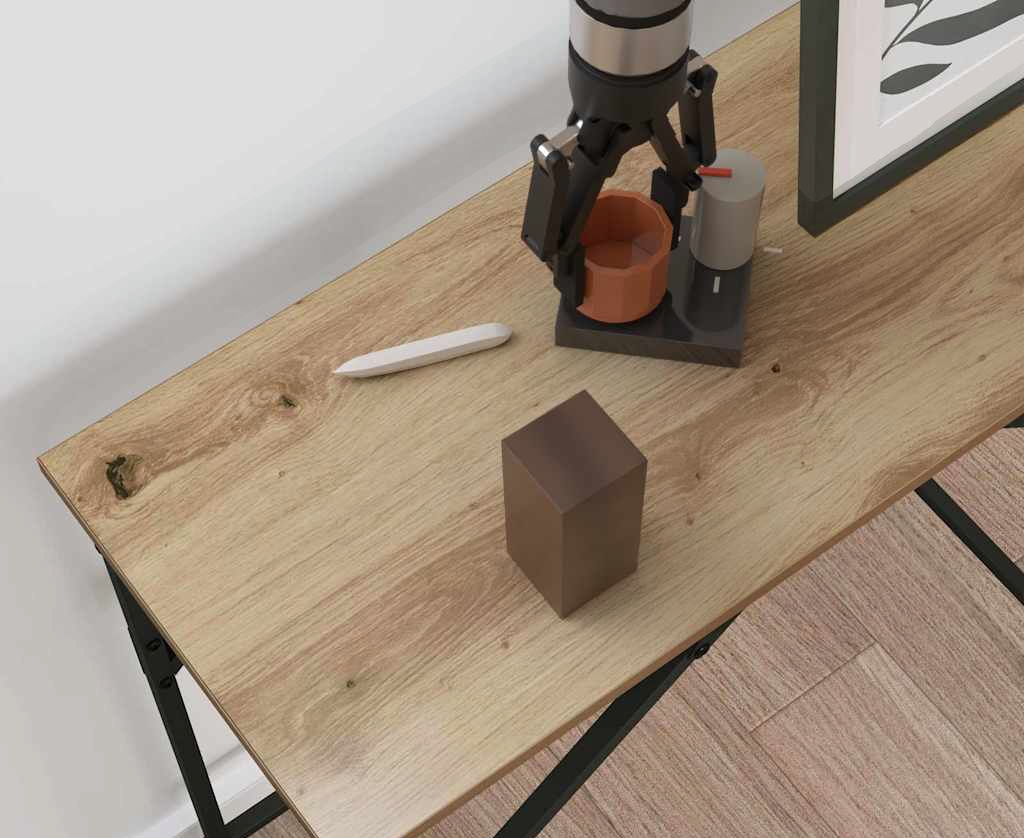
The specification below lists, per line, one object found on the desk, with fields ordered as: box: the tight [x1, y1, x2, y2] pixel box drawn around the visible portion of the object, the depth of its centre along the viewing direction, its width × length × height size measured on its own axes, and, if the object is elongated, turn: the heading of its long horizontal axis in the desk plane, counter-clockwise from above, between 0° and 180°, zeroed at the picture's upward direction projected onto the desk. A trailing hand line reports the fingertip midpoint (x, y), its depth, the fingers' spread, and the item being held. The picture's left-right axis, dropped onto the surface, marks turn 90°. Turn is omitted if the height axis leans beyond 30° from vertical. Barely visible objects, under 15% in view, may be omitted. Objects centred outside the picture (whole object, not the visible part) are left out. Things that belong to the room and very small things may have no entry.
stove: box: [554, 214, 783, 369], centre depth 124 cm, size 16×14×3 cm
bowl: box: [576, 188, 673, 323], centre depth 119 cm, size 8×8×6 cm
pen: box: [332, 322, 513, 378], centre depth 122 cm, size 2×14×2 cm, turn 107°
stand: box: [500, 388, 649, 620], centre depth 107 cm, size 7×7×15 cm
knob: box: [689, 148, 768, 270], centre depth 120 cm, size 5×5×8 cm
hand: (616, 265), depth 119 cm, fingers closed on bowl, 8 cm apart
